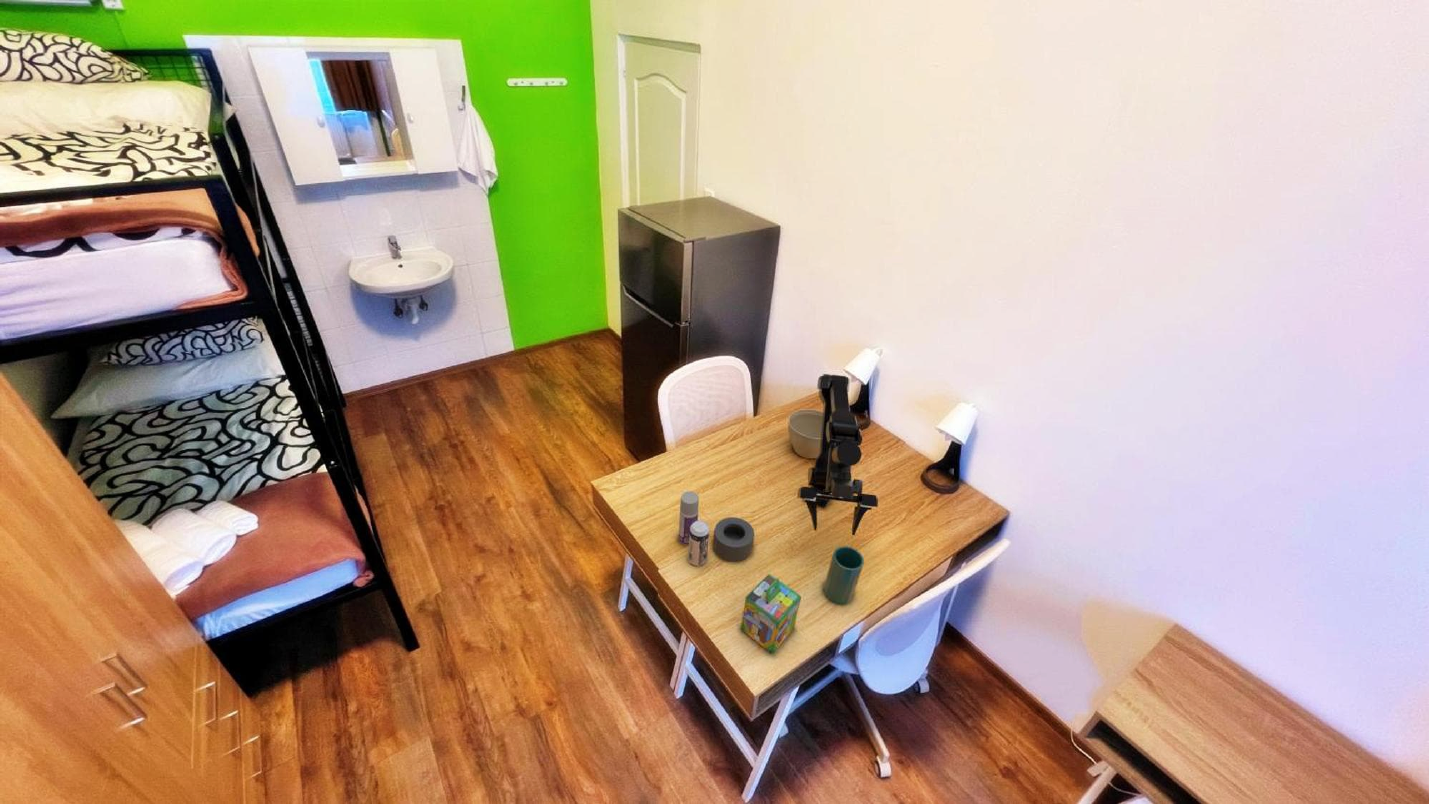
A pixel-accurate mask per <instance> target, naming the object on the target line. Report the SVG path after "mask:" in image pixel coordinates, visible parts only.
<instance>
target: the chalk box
mask: <svg viewBox="0 0 1429 804" xmlns="http://www.w3.org/2000/svg"><path fill="white" fill-rule="evenodd" d="M801 600H802V596H801V595H800V594H799V593H798V592H796V591H795V590H794V589H792V588H790V586H788V585H787V584H785V583H784V582H783V581H781V580H780V578H778V577H777V578H776V577H775V576H773V575H771V574H769V573H768V574H767V575H765V577H764V578H763V579H762V580H761V581H760V582H759V583H758V584H757V585H756V586H755V587H754V588H753V589H752V590H751V591H750V592H749V593H748V594H747V595H746V596H745V600H744V607H743V613H742V621H741V625H740V626H741V627H740V630H741V631H742V632H744V633H745V635H747V636H749V637H750V639H752V640H753V641H754V642H756V643H757V644H758V645H760V646H761V647H762V648H764V649H765V650H767V651H768V652H769V653H770V654H772V655H773V654H774V653H775V652H776V651H777V649H778V648H779V647H780V646H781V645H782V643H784V641H785V640H786V639H787V638H788V636H789V635H790V634H791V632H792V631H793V630H794V628H795V624H796V620H797V616H798V613H799V609H800V604H801Z"/></svg>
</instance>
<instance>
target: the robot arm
mask: <svg viewBox="0 0 1429 804" xmlns="http://www.w3.org/2000/svg"><path fill="white" fill-rule="evenodd" d="M850 385H851V379H850V378H849V376H846V375H842V374H841V375H840V374H830V373H829V374H828V373H822V375H820V376H819V377H818V378H817V388H816V389H817V390H818V398H819V399H820V401H821V403H822V412H823V417H822V429H821V441H820V453H819V456H818V457H817V458H815V459H814V461H813V462H812V466H811V467H809V468H808V470H807V485H808V486H800V487H799V488H798V490H797V496H796V498H797V499H802V501H801V502H802V503H805V504H806V506H807V509H808V512H809V515H810V518H811V521H812V522H811V523H812V526H813V527H812V528H813V530H814V531H817V529H818V507H821V508H822V509H825V508H826V507H827V505H828V504H829V502H830V501H839V502H846V503H856V506H854V508H853V516H852V523H851V525H852V526H851V535H852V536H855V535H856V532H857V530H858V528H859V526H860V523H861V521H862V519H863V517H864V515H865V514H866V513H867V511H872V509H873V508H878V506H879V498H878V496H877V495H876V494H869V493H863V486H864V481H863V479H859V478H858V479H857V478H853V480H852V467H853V466H856V465H857V464H858V463H859V462H860V461H861V459H862V456H863V455H862V450H861V448H860V446H861V445H862V443H863V436H862V432H861V429H860V425H859V424H858V421H857V417H856V415H855V414H854V413H853V412H852V411H851V408H850V399H849V392H850Z"/></svg>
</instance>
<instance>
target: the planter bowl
mask: <svg viewBox="0 0 1429 804" xmlns="http://www.w3.org/2000/svg"><path fill="white" fill-rule="evenodd" d="M822 417H823V411H821V410H818V409H812V408H803V409H798V410H795V411H793V412H792V413H790V415H789V416H788V419H787V420H788V421H787V423H788V425H787V433H788V438H789V441H790V443H791V445H792V447H793V451H794V452H795V453H796V454H797V455H798V456H800V457H802V458H804V459H816V458H817V457H818V456H819V453H820V441H821V429H822Z"/></svg>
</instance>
